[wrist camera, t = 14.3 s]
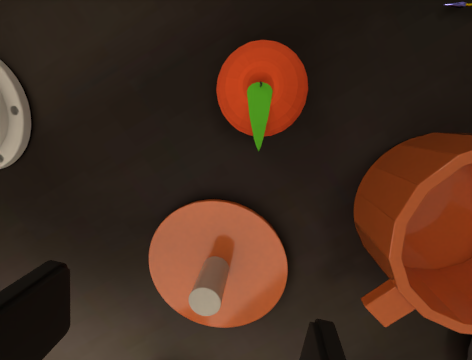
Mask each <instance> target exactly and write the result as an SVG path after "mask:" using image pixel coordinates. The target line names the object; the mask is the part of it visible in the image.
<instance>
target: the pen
mask: <svg viewBox="0 0 472 360" xmlns="http://www.w3.org/2000/svg"><path fill="white" fill-rule="evenodd" d="M443 5H446V6H451V7H456V8H463V7H465V6H472V3H466V2H463V1H462V2H456V3H450V4H443Z"/></svg>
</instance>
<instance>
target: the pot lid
mask: <svg viewBox="0 0 472 360" xmlns="http://www.w3.org/2000/svg"><path fill="white" fill-rule="evenodd" d="M149 268H150V273H151V277H152V280H153V282H154V284H155V287H156V288H157V290H158V292H159V293H160V295H161V296H162V297H163V299H164V300H165V301H166V302H167V303H168V304H169V305H170V306H171V307H172V308H173V309H174V310H175V311H177V312H178V313H180V314H181V315H183V316H184V317H186V318H188V319H190V320H192V321H194V322H197V323H199V324H203V325H207V326H212V327H221V328H228V327H237V326H242V325H245V324H249V323H251V322H253V321H256V320H258V319H259V318H261V317H262V316H264V315H265V314H267V313H268V312H269V311H270V310H271V309H272V308H273V307H274V306H275V305H276V303H277V302H278V300H279V299H280V297H281V296H282V293H283V291H284V289H285V285H286V282H287V275H288V263H287V257H286V252H285V249H284V246H283V244H282V242H281V239H280V237H279V236H278V234H277V233H276V231H275V230H274V228H273V227H272V226H271V225H270V224H269V223H268V222H267V221H266V220H265V219H264V218H263V217H262V216H260V215H259V214H258V213H256V212H255V211H253V210H251V209H249V208H247V207H246V206H243V205H241V204H238V203H235V202H231V201H227V200H218V199H206V200H200V201H195V202H192V203H189V204H186V205H184V206H182V207H180V208H178V209H177V210H175V211H174V212H172V213H171V214H170V215H169V216H168V217H166V218H165V220H164V221H163V222H162V223H161V224H160V225H159V227H158V228H157V230H156V232H155V234H154V236H153V238H152V241H151V244H150V249H149Z"/></svg>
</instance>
